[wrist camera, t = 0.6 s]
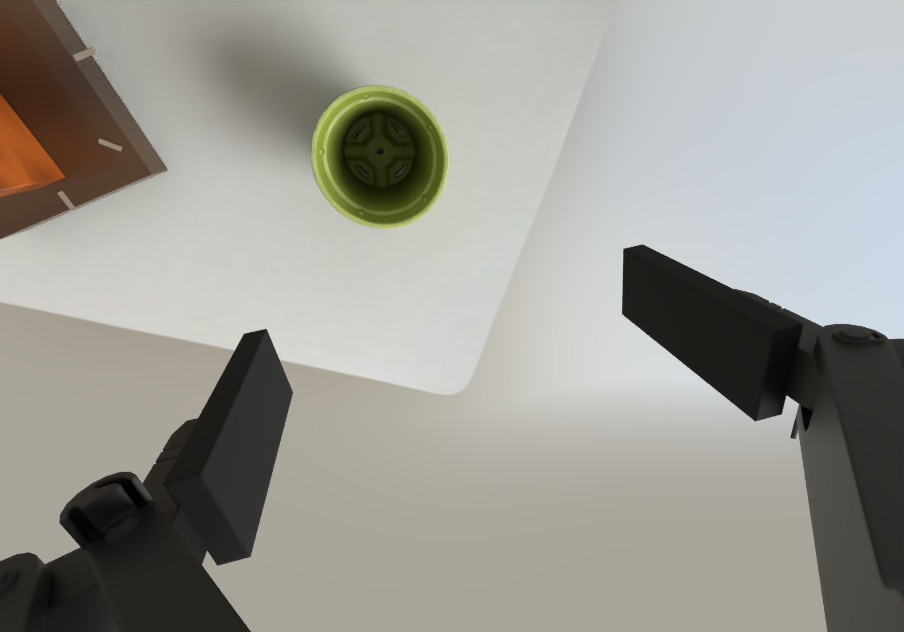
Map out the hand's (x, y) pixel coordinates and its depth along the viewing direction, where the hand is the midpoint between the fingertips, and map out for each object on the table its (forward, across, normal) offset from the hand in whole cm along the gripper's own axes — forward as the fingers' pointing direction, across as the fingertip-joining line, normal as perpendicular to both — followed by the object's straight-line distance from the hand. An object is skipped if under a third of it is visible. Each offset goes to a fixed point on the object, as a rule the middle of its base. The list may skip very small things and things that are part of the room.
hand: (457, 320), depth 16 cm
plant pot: (+27, -1, +4) cm, 27 cm away
